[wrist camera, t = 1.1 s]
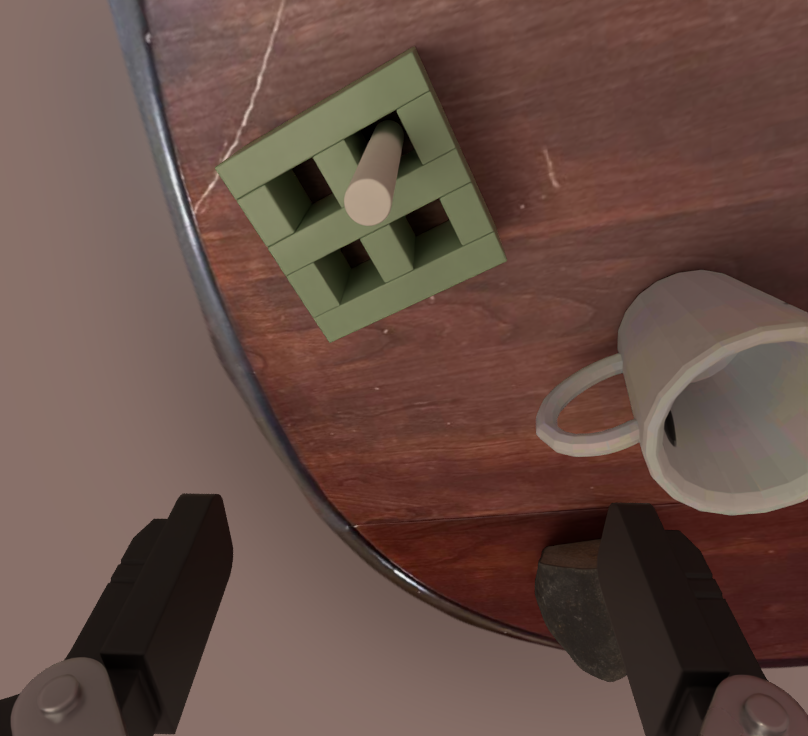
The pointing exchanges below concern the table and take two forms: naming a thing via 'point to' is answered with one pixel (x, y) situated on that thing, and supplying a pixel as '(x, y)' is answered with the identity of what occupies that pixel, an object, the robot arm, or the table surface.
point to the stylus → (376, 176)
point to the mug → (705, 394)
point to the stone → (578, 608)
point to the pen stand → (328, 220)
